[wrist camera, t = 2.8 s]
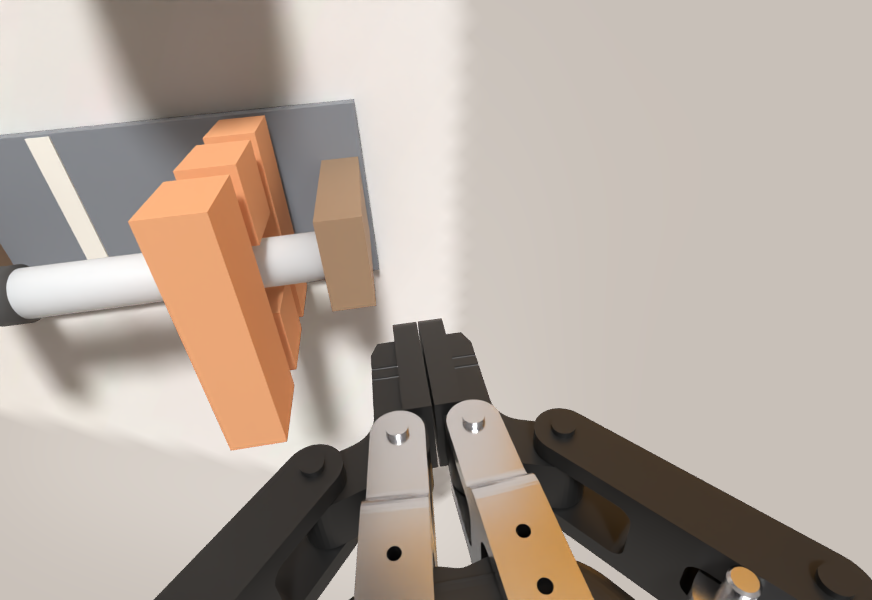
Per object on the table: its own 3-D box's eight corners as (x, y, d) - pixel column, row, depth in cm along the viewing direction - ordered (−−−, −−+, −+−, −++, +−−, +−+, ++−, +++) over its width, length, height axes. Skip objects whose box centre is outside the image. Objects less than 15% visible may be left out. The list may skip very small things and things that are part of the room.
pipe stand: (12, 310, 27) (-100, 423, 20) (-98, 145, 22) (-297, 220, 15) (378, 262, 29) (387, 351, 22) (353, 99, 24) (356, 148, 17)
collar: (270, 290, 27) (231, 450, 18) (219, 120, 22) (127, 221, 13) (307, 285, 27) (287, 441, 18) (264, 115, 22) (206, 212, 13)
